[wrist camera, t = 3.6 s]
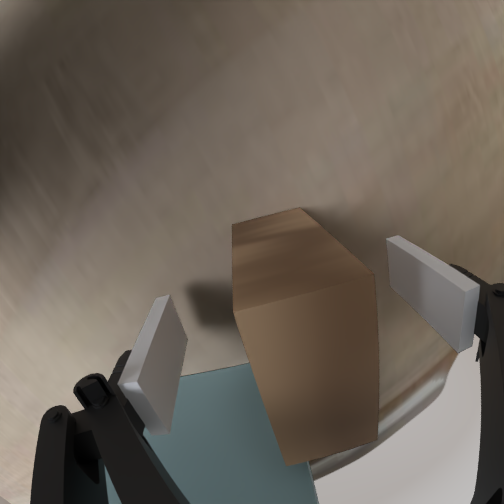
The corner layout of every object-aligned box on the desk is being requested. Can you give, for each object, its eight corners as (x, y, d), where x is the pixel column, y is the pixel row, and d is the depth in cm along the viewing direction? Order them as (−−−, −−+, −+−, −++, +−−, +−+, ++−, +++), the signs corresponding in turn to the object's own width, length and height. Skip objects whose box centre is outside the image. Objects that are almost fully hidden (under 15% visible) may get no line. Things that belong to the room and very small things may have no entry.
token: (263, 338, 18) (286, 466, 9) (231, 224, 16) (233, 312, 7) (321, 323, 18) (377, 440, 9) (299, 207, 16) (373, 273, 7)
